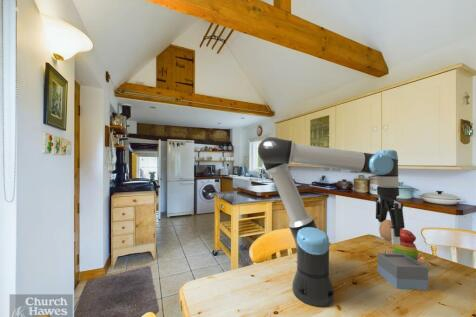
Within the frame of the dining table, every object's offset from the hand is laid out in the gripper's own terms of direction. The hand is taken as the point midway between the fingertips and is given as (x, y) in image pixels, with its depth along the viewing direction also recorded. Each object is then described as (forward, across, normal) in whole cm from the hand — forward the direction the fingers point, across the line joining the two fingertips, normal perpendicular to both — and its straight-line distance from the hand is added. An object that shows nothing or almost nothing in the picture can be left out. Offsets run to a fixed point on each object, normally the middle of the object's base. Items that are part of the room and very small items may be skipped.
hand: (389, 240), depth 84 cm
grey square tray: (+18, +2, -6) cm, 19 cm away
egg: (0, 0, 0) cm, 0 cm away
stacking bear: (+19, +16, -17) cm, 30 cm away
